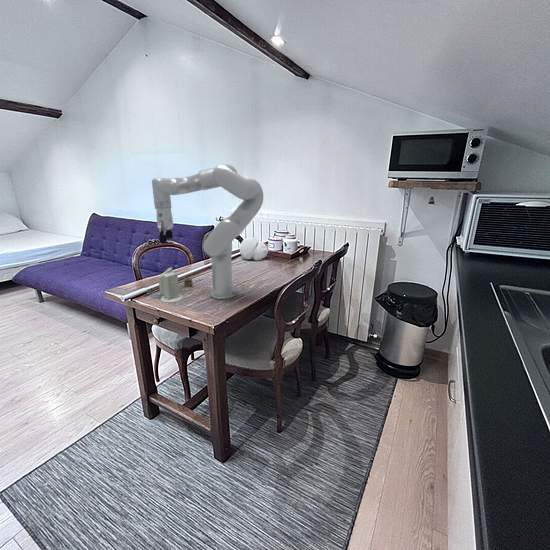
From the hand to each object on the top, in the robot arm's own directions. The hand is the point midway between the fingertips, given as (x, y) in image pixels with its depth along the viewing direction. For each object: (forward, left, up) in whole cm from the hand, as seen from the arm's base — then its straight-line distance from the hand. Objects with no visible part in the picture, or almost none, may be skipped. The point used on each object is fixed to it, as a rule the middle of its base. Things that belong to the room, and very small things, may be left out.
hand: (166, 240), depth 149 cm
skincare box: (-4, +11, -26) cm, 28 cm away
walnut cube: (-7, -7, -27) cm, 28 cm away
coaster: (-4, +11, -27) cm, 29 cm away
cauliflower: (-38, -64, -27) cm, 79 cm away
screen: (+2, 0, -27) cm, 27 cm away
